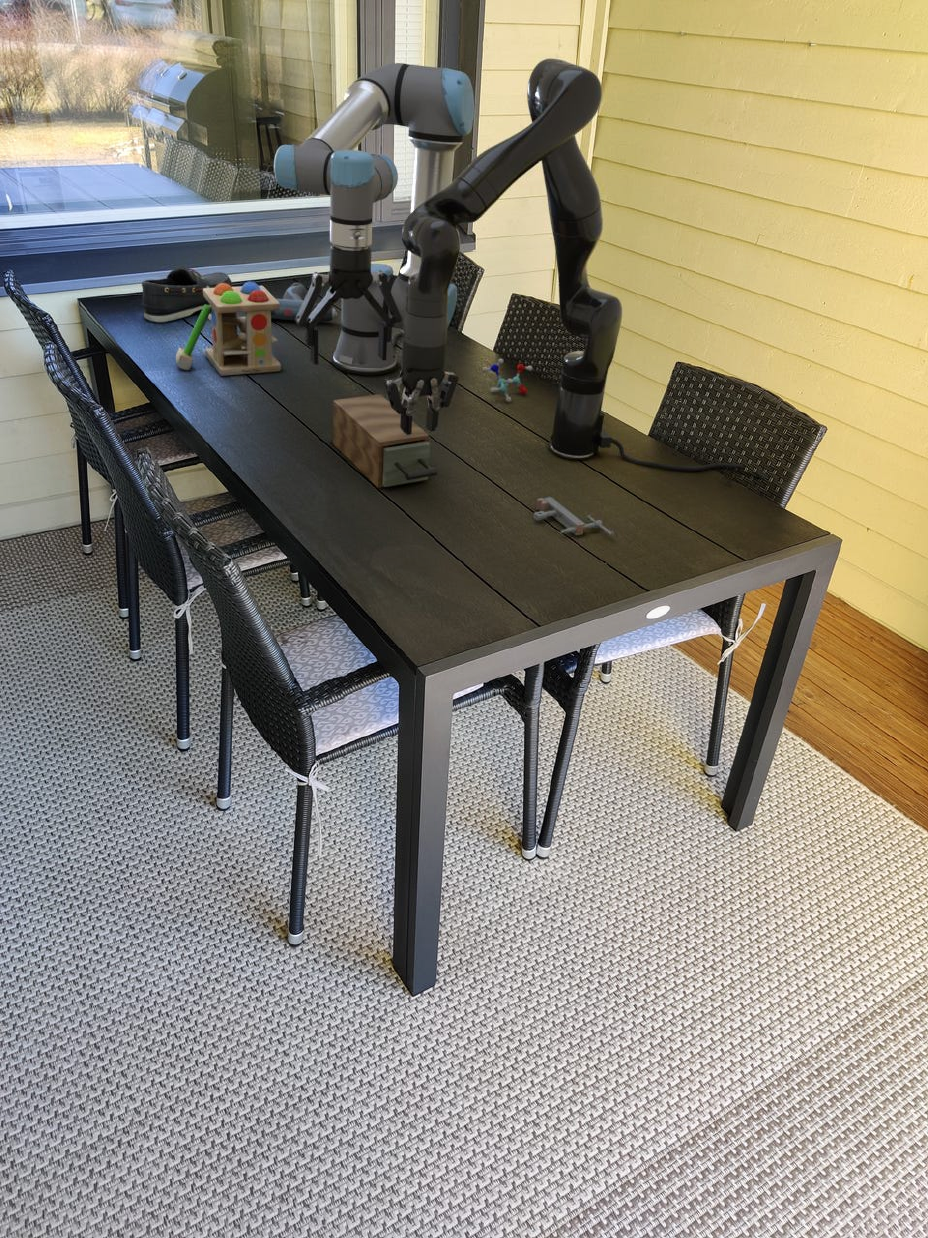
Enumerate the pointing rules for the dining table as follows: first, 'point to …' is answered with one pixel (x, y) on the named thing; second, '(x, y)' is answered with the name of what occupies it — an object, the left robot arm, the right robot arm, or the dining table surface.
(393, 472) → the drawer
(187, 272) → the boat shoe
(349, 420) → the cabinet
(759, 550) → the dining table surface
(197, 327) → the pounding bench toy
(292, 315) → the power drill
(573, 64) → the right robot arm
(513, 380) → the molecular model
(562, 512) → the clamp
